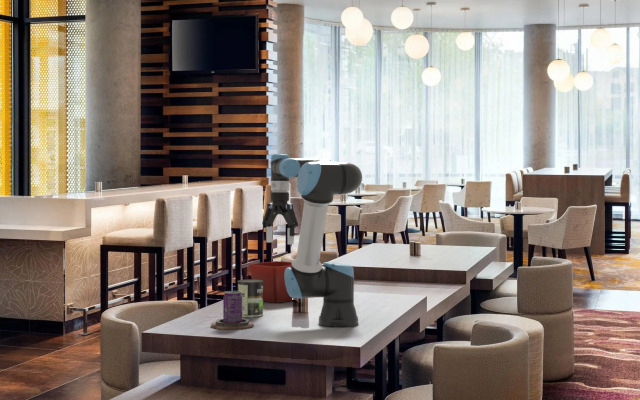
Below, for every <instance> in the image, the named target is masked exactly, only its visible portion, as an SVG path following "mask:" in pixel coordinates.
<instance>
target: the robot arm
mask: <svg viewBox="0 0 640 400" xmlns="http://www.w3.org/2000/svg"><path fill="white" fill-rule="evenodd" d="M290 178H291V179H292V178H297V179H296V183H297V184H296V187H297V191H298V193H299V194H300V196H301V199H302V200H303V209H302V216H301V224H300V230H299V238H298V245H297V252H296V258H294V259H292V260H291V262H292V264H291V267H288V268H286V269H285V273H284V278H285V285H286V289H287V292H288V294H289V296H290V297H292V298H297V299H300V300H301V299H309V298H310V299H314V298H322V300H323V302H322V307H321V311H320V315H319V317H318V324H319V325H320V326H324V327H332V328H333V327H335V328H343V327H345V328H348V327H353V326H357V325H359V316H358V314H357V310H356V307H355V302H354V301H355V300H354V299H355V294H354V293H355V292H354V291H355V275H354V274H355V273H354V272H355V271H354V267H353V266H352V265H350V264H346V263H341V262H340V263H339V262H330V261H328V262H327V261H325V262H323V263H322V262H321V261H320V258H321V253H322V246H323V240H324V239H323V238H324V232H325V225H326V219H327V212H328V207H329V205H330V204H331V203H332V202H333V201H334V196H336V195H348V194H351V193H353V192H355V191H356V190H358V188H360V186H361V184H362V182H363V173H362V171H361V169H360V168H359V167H358V166H357V165H356V164H353V163H352V162H346V161H345V162H344V161H343V162H342V161H331V159H329V158H292V157H290V155H288V154H287V153H285V154H284V153H275V154H274V153H273V154H272V155H271V156H270V191H271V192H270V201H271V202H267V203H266V210H265V214H264V217H263V219H262V222H261V223H262V225H263V226H264V227H265V235H266V241H265V242H266V243H273V241H274V240H273V239H274V238H273V234H274V233H273V230H274V229H273V228H274V227H273V223H274V222H275V220H276V218H277V217H278V215H281V216H282V217H283V218H284V220H285V222H286V225H287V226H288V227H287V245H295V241H294V240H295V239H294V238H295V230H296V227H299V222H298V220H297V217H296V213H295V210H294V204H293V203H288V202H289V201H290V192H289V191H290Z"/></svg>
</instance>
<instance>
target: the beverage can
mask: <svg viewBox="0 0 640 400" xmlns="http://www.w3.org/2000/svg"><path fill="white" fill-rule="evenodd" d="M222 297H223V300H222V302H223V303H222V307H223V309H222V311H223V312H222V313H223V314H222V317H223V318H222V319H223V322H224V323H240V322H242V318H243V317H242V295H241V292H240V291H238V290H229V291H228V290H227V291H226V290H225V291H224V295H223V296H222Z"/></svg>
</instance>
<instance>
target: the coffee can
mask: <svg viewBox="0 0 640 400" xmlns="http://www.w3.org/2000/svg"><path fill="white" fill-rule="evenodd" d="M237 291H240V292H241V295H242V318H258V317H259V318H260V317H264V301H263V280H256V279H252V278H251V279H239V280H237Z"/></svg>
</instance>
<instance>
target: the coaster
mask: <svg viewBox="0 0 640 400" xmlns="http://www.w3.org/2000/svg"><path fill="white" fill-rule="evenodd" d="M254 326H255V323H254V322H253V321H250V319H247V318H244V317H242V322H240V323H224V322H223V318H219V319H217V320H216V321H214V322H212V323H210V327H211V328H212V329H214V330H215V329H216V330H221V329H226V331H235V330H234V329H241V330H246V329H247V328H248V329H252V328H253V327H254ZM248 329H247V330H248Z"/></svg>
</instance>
